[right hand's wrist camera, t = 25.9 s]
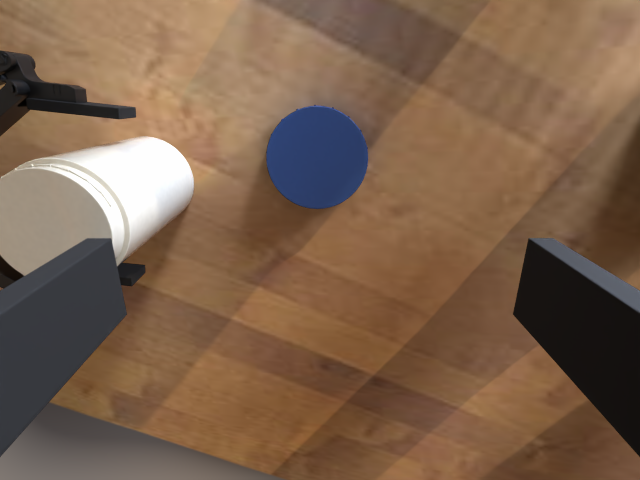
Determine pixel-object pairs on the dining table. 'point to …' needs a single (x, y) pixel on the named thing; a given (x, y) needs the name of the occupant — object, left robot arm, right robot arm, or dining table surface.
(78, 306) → the right robot arm
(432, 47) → the dining table surface
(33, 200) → the jar
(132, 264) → the left robot arm
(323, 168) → the lid
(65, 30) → the dining table surface
